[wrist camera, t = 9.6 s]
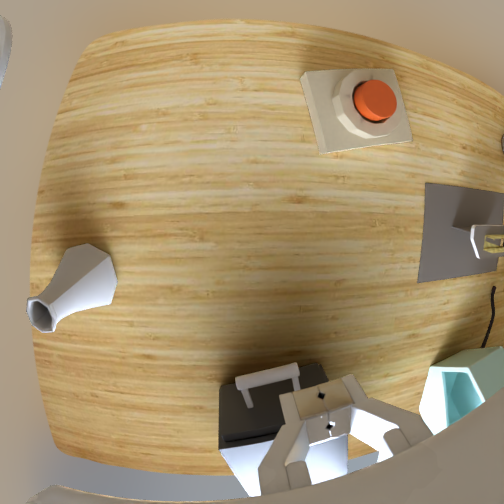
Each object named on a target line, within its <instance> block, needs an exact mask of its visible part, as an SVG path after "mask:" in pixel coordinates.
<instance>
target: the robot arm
mask: <svg viewBox="0 0 504 504" xmlns="http://www.w3.org/2000/svg"><path fill="white" fill-rule="evenodd" d="M279 398H280V403H281V407H282V411H283V415H284V419H285V423H286V425H282V427H281V428H280V430H279V432H278V434H277V436H276V438H275V439H274V441H273V443H272V445H271V446H270V448H269V450H268V452H267V453H266V455H265V457H264V458H263V460H262V462H261V463H260V465H259V467H258V468H257V470H258V478H259V486H260V494H261V496H254V497H247V498H239V499H230V500H216V501H198V502H197V501H194V502H171V501H149V500H137V499H127V498H120V497H112V496H106V495H100V494H94V493H89V492H85V491H80V490H76V489H72V488H68V487H64V486H60V485H52V486H50V487H48V488H46V489H44V490H43V491H41V492H40V493H38V494H36V495H35V496H33V497H32V498H30V499H29V500H28V501H27V502H26V504H504V387H503V388H501V389H500V390H499V391H498V392H496V393H495V394H494V395H493V396H491V397H490V398H489V399H487V400H486V401H485V402H483V403H482V404H481V405H479V406H478V407H477V408H475V409H474V410H472V411H471V412H470V413H468V414H467V415H465V416H464V417H462V418H461V419H459V420H458V421H456V422H455V423H453V424H451V425H450V426H448V427H446V428H445V429H443V430H442V431H440V432H438V433H436V434H435V435H434V434H433V433H432V431H431V430H430V429H429V427H428V426H427V424H426V423H425V422H424V420H423V419H422V418H421V416H420V415H418V414H415V413H412V412H410V411H407V410H404V409H401V408H398V407H396V406H393V405H390V404H388V403H385V402H382V401H380V400H377V399H375V398H369V399H368V397H367V396H366V394H365V392H364V391H363V389H362V388H361V386H360V384H359V383H358V381H357V380H356V378H355V376H354V375H353V374H349V375H347V376H344V377H341V378H338V379H335V380H332V381H329V382H326V383H323V384H319V385H316V386H313V387H309V388H305V389H301V390H297V391H293V392H290V393H286V394H281V395H279ZM350 433H351V434H352V435H354V436H355V437H357V438H358V439H360V440H362V441H363V442H365V443H367V444H369V445H370V446H372V447H374V448H375V449H377V450H379V451H380V452H379V457H378V461H377V463H375V464H373V465H371V466H368V467H365V468H363V469H360V470H357V471H354V472H352V473H349V474H346V475H343V476H340V477H337V478H333V479H330V480H327V481H324V482H320V483H316V484H312V481H311V477H310V474H309V471H308V468H307V464H306V462H305V459H306V456H307V454H308V451H309V448H310V446H312V445H315V444H318V443H321V442H324V441H327V440H330V439H334V438H337V437H340V436H344V435H347V434H350Z"/></svg>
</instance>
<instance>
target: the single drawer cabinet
mask: <svg viewBox="0 0 504 504" xmlns="http://www.w3.org/2000/svg"><path fill="white" fill-rule="evenodd" d="M319 367H320V370H321V372H322V374H323V376H324V378H325V380H326V382H329V380H328V378H327V375H326V373H325V371H324V369H323V367H322V365H321V364H320V365H319ZM277 434H278V433H276V434H271V435H266V436H262V437H257V438H251V439H246V440H240V441H235V440H232V441H225V442H224V440H223V438H222V437H221V389H219V451H220V453H221V454H222V456H223V457H224V459H225V460H226V462H227V464H228V465H229V467H230V468H231V470H232V471H233V473H234V474H235V476H236V477H237V479H238V480H239V482H240V483H241V484H242V486H243V487H244V489H245V490H246V492H247V493H248V494H249V496H250V497H254V496H261V494H260V486H259V478H258V470H257V468H258V467H259V465H260V463H261V462H262V460H263V458H264V457H265V455H266V453H267V452H268V450H269V448H270V446H271V445H272V443H273V441H274V439H275V438H276V436H277ZM305 462H306V464H307V468H308V471H309V474H310V477H311V481H312V484H316V483H320V482H324V481H327V480H330V479H333V478H337V477H340V476H343V475H346V474H348V434H347V435H344V436H340V437H337V438H334V439H330V440H327V441H324V442H321V443H318V444H315V445H312V446H310V448H309V451H308V454H307V456H306V459H305Z"/></svg>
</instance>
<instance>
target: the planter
mask: <svg viewBox="0 0 504 504" xmlns="http://www.w3.org/2000/svg"><path fill="white" fill-rule="evenodd" d="M503 387H504V348H503V347H502V346H497V347H488V348H478V349H467V350H462V351H460V352H458V353H456V354H454V355H452V356H451V357H449V358H447V359H444V360H442V361H440V362H438V363H436V364H434V365H432V366H430V369H429V373H428V377H427V381H426V385H425V389H424V393H423V396H422V400H421V403H420V407H419V410H420V413H421V415H422V418H423V420H424V422H425V423H426V424H427V426H428V427H429V429H430V430H431V431H432V433H433V434H434V435H435V434H436V433H438V432H440V431H442V430H443V429H445V428H446V427H448V426H450V425H451V424H453V423H455V422H456V421H458V420H459V419H461V418H462V417H464V416H465V415H467V414H468V413H470V412H471V411H472V410H474V409H475V408H477V407H478V406H479V405H481V404H482V403H483V402H485V401H486V400H487V399H489V398H490V397H491V396H493V395H494V394H495V393H496V392H498V391H499V390H500V389H501V388H503Z"/></svg>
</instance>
